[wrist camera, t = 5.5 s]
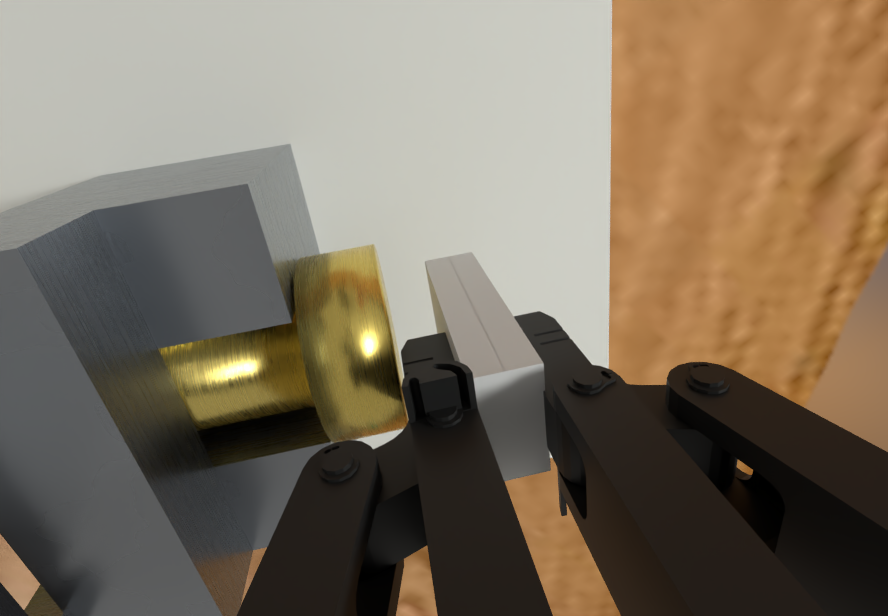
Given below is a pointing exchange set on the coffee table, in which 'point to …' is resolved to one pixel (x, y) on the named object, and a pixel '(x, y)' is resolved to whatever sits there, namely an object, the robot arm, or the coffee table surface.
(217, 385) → the pin
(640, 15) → the coffee table surface
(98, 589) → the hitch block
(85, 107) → the mat
